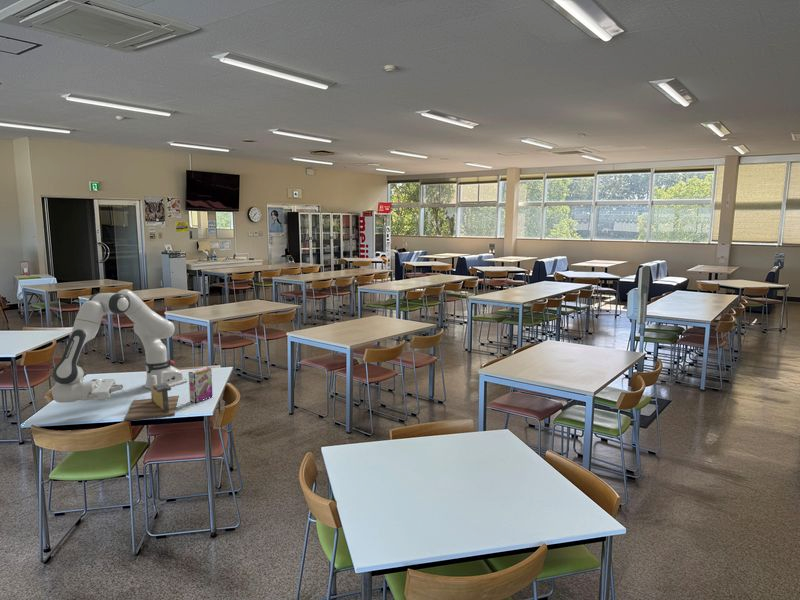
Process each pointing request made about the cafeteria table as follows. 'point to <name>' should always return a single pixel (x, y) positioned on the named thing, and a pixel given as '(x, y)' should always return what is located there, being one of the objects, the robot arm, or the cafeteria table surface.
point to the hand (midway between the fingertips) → (122, 387)
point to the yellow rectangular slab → (155, 392)
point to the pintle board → (153, 405)
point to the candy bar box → (200, 384)
